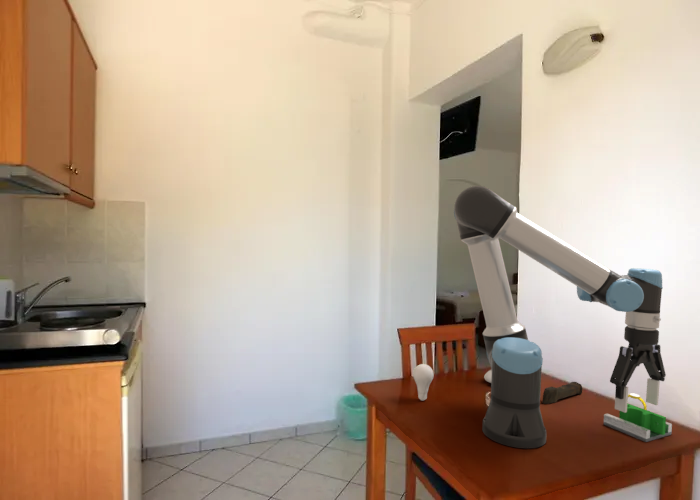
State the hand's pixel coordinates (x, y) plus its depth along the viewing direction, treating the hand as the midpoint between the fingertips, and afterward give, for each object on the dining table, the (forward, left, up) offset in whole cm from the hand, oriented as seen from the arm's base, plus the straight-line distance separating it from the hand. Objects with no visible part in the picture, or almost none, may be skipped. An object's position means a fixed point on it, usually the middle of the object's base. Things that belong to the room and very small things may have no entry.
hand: (636, 407), depth 116 cm
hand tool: (+1, +23, -6) cm, 24 cm away
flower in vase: (-7, +40, -6) cm, 41 cm away
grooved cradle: (0, 0, -6) cm, 6 cm away
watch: (+10, +6, -6) cm, 13 cm away
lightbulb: (-41, +38, -6) cm, 57 cm away
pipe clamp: (+1, 0, -5) cm, 5 cm away
